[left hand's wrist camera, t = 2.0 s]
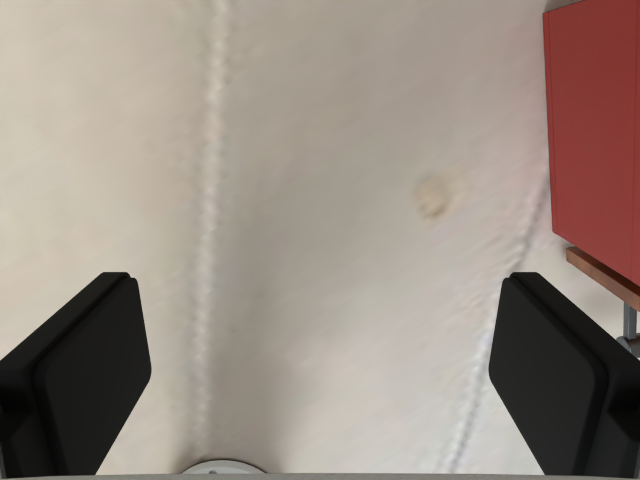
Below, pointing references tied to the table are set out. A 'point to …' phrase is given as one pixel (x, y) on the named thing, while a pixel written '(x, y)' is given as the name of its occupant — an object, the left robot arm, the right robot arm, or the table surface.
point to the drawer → (618, 285)
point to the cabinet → (595, 128)
